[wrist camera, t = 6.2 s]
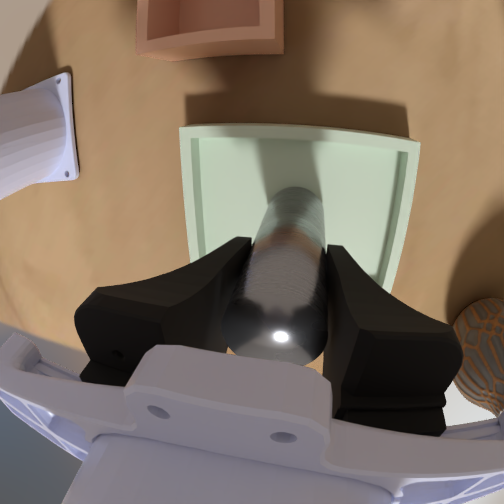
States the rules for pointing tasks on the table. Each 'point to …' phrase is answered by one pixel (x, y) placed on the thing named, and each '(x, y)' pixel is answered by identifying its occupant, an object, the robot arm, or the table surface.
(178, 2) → the salmon open box
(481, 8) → the table surface
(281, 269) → the dowel
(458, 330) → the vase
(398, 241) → the tray
